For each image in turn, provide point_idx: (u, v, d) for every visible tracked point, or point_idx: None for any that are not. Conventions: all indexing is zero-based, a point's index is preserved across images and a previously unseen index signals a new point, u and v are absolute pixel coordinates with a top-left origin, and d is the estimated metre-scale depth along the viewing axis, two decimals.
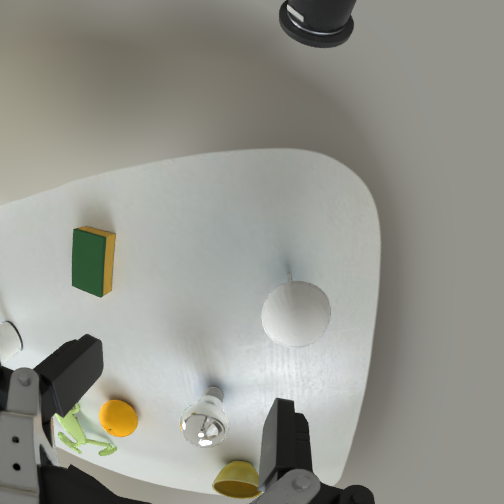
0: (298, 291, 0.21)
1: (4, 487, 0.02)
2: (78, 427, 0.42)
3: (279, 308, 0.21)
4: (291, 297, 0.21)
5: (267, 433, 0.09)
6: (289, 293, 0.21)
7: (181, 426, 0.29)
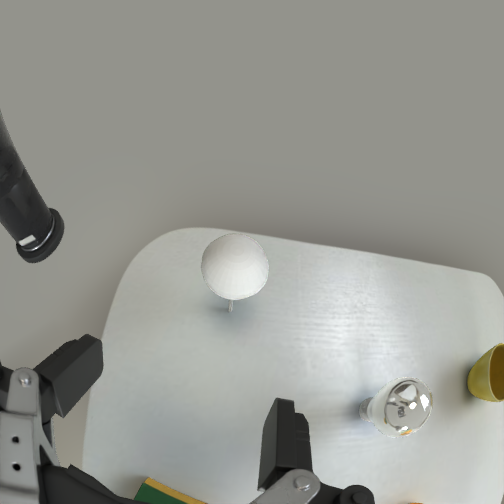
0: (205, 253, 0.23)
1: (5, 487, 0.02)
2: None
3: (214, 267, 0.22)
4: (207, 258, 0.22)
5: (267, 433, 0.09)
6: (205, 260, 0.23)
7: (401, 430, 0.18)
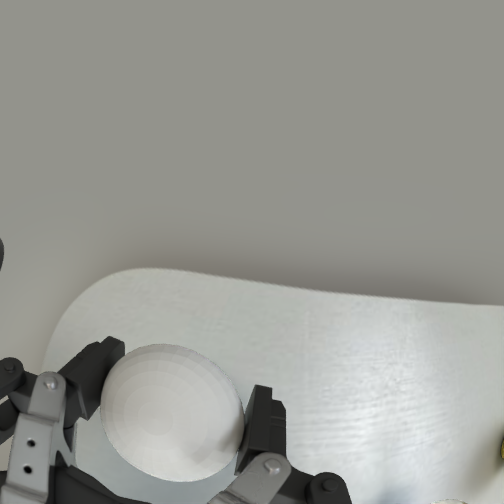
0: (101, 394, 0.08)
1: (11, 487, 0.02)
2: None
3: (114, 440, 0.07)
4: (101, 411, 0.07)
5: (246, 419, 0.09)
6: (100, 411, 0.08)
7: None
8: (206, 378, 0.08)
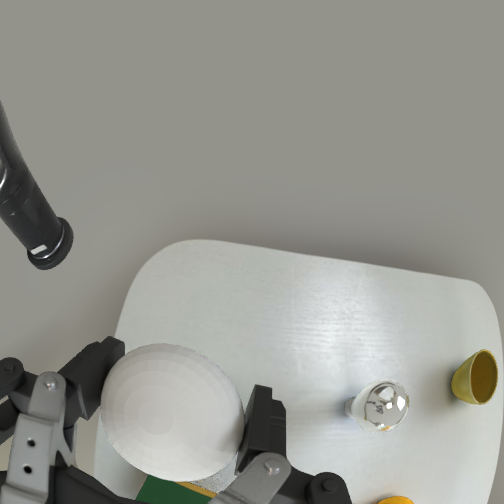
0: (102, 394, 0.08)
1: (11, 487, 0.02)
2: None
3: (114, 440, 0.07)
4: (101, 410, 0.07)
5: (246, 419, 0.09)
6: None
7: (378, 426, 0.22)
8: (206, 378, 0.08)
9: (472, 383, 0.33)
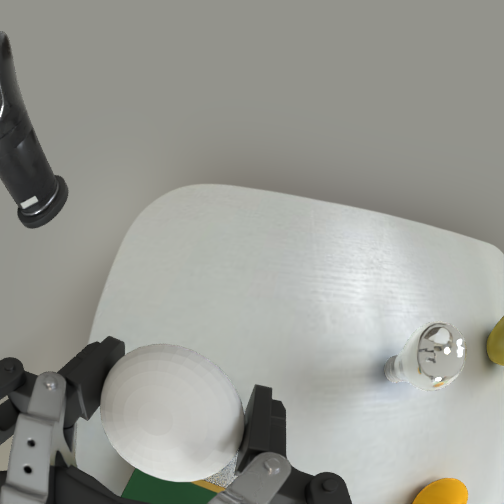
0: (101, 394, 0.08)
1: (11, 487, 0.02)
2: None
3: (114, 440, 0.07)
4: (101, 411, 0.07)
5: (246, 419, 0.09)
6: (100, 411, 0.08)
7: (438, 378, 0.17)
8: (206, 378, 0.08)
9: None
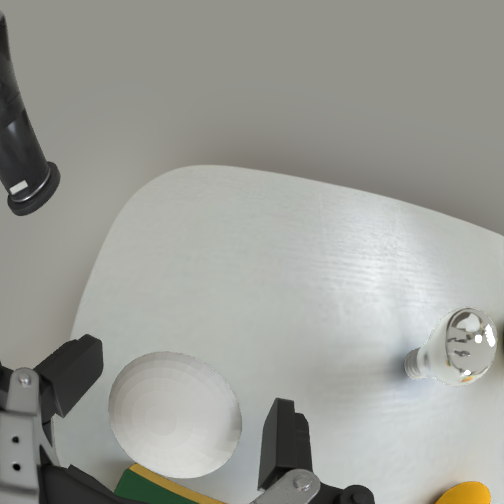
0: (110, 398, 0.09)
1: (4, 487, 0.02)
2: None
3: (122, 440, 0.07)
4: (110, 414, 0.08)
5: (267, 433, 0.09)
6: (109, 414, 0.08)
7: (471, 370, 0.13)
8: (206, 383, 0.09)
9: None
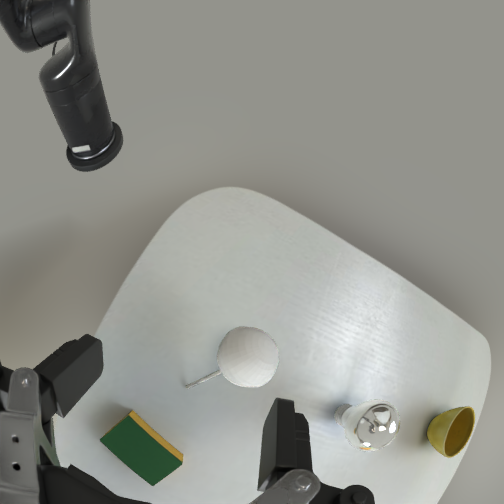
0: (235, 337, 0.23)
1: (4, 487, 0.02)
2: None
3: (246, 353, 0.22)
4: (239, 342, 0.23)
5: (267, 433, 0.09)
6: (234, 343, 0.23)
7: (364, 445, 0.22)
8: None
9: None
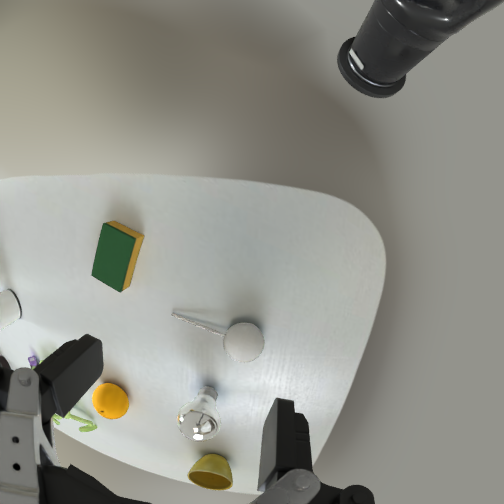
0: (248, 349, 0.34)
1: (4, 487, 0.02)
2: None
3: (251, 359, 0.35)
4: (250, 353, 0.35)
5: (267, 433, 0.09)
6: (247, 353, 0.35)
7: (180, 420, 0.33)
8: None
9: None
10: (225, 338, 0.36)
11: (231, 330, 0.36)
